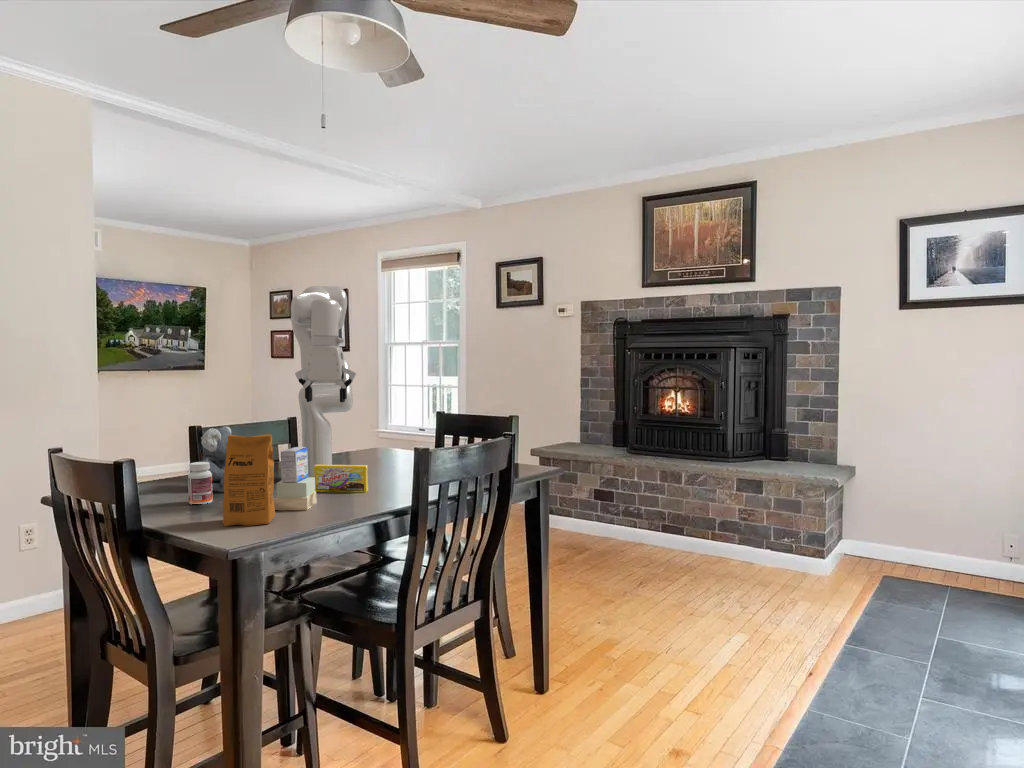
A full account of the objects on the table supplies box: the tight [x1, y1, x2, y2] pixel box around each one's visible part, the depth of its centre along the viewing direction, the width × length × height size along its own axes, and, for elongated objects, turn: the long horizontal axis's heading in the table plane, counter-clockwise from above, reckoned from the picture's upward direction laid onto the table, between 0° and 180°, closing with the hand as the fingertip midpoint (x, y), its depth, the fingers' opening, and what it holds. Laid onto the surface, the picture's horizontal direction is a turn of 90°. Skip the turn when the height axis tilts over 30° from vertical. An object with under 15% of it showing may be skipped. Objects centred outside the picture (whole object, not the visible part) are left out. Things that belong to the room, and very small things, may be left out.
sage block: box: [276, 477, 315, 498], centre depth 189 cm, size 8×8×4 cm
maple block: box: [273, 491, 318, 511], centre depth 188 cm, size 9×9×4 cm
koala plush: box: [200, 425, 233, 493], centre depth 216 cm, size 17×18×20 cm
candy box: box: [314, 464, 369, 493], centre depth 209 cm, size 16×2×8 cm, turn 86°
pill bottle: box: [187, 461, 214, 505], centre depth 194 cm, size 6×6×11 cm
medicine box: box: [280, 446, 308, 483], centre depth 188 cm, size 8×4×9 cm, turn 174°
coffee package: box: [222, 434, 276, 527], centre depth 172 cm, size 10×12×22 cm
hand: (326, 401), depth 198 cm, fingers open, 9 cm apart
